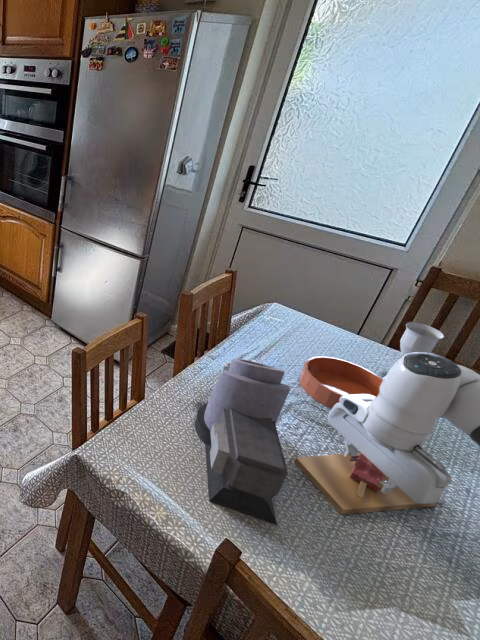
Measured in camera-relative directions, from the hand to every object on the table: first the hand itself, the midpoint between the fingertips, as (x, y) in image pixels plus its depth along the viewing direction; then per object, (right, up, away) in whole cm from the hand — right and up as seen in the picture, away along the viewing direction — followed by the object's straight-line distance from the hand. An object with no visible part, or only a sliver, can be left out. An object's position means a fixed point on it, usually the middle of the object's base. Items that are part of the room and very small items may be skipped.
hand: (365, 473), depth 87 cm
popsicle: (+1, -1, +1) cm, 2 cm away
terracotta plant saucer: (+17, +9, +25) cm, 32 cm away
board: (0, -3, +1) cm, 3 cm away
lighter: (-8, +11, +30) cm, 33 cm away
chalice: (+35, +10, +28) cm, 46 cm away
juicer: (-23, 0, +8) cm, 24 cm away
